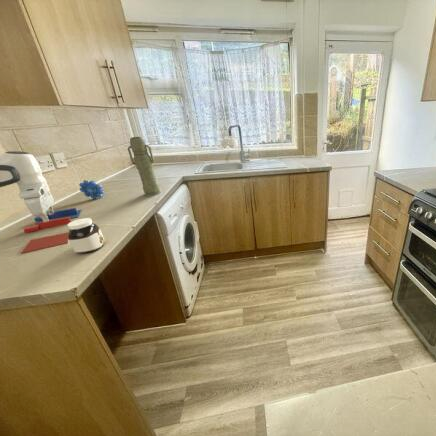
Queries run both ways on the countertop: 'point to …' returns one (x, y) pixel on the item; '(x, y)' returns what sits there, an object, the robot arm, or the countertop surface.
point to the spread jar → (85, 236)
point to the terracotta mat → (46, 242)
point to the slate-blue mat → (65, 216)
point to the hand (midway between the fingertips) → (49, 217)
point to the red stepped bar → (48, 224)
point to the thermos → (144, 165)
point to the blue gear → (91, 189)
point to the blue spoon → (59, 214)
